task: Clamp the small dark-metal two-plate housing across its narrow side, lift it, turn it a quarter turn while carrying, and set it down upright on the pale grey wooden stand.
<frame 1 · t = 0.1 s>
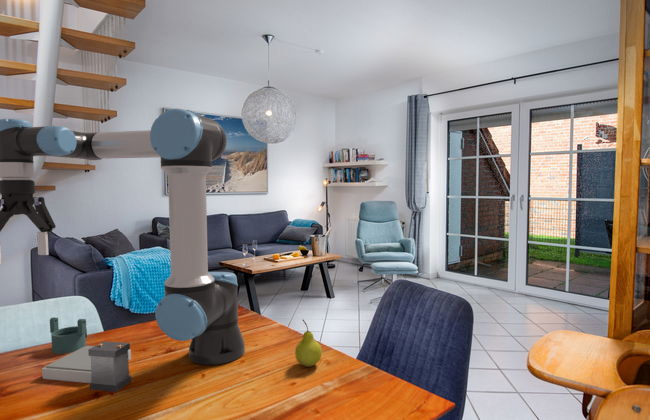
hand: (21, 259, 106), 28 cm above the table, fingers open, 13 cm apart
housing: (110, 385, 95), on the table
bracket: (70, 348, 117), on the table
stand: (89, 368, 104), on the table
fruit: (308, 366, 104), on the table
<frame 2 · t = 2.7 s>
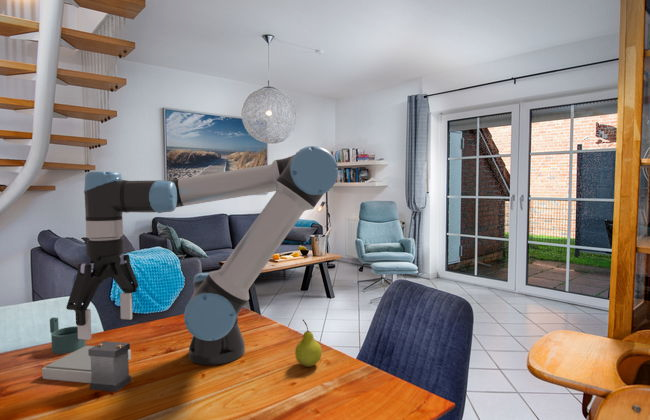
hand: (107, 328, 94), 14 cm above the table, fingers open, 13 cm apart
nothing on the table moved.
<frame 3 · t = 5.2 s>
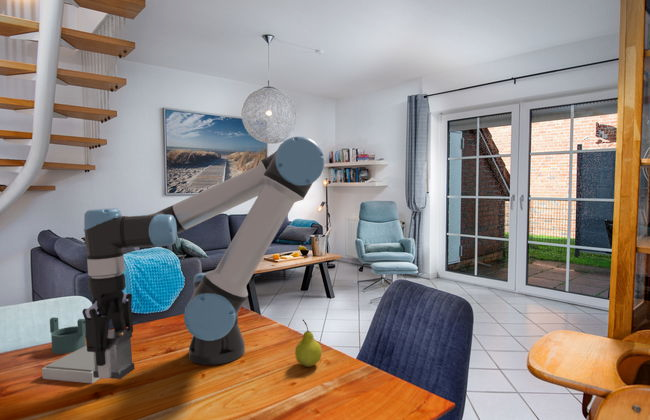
hand: (113, 371, 94), 3 cm above the table, fingers closed on housing, 5 cm apart
housing: (114, 373, 94), point 3 cm above the table, touching gripper
everything else where it was.
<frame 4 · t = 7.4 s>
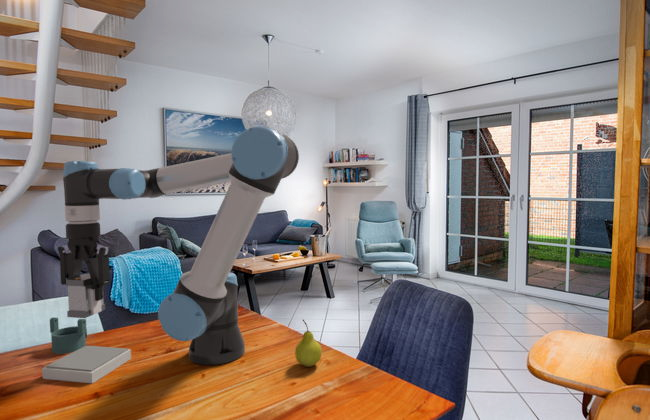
hand: (86, 311, 103), 15 cm above the table, fingers closed on housing, 5 cm apart
housing: (86, 313, 103), point 14 cm above the table, touching gripper
everything else where it was.
when the fingers open (4 cm above the table, at t = 9.4 s): housing stays where it is, resting on stand.
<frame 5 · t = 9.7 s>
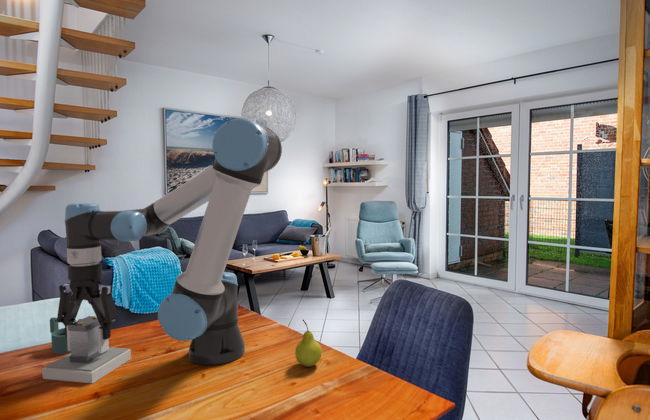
hand: (88, 349, 103), 5 cm above the table, fingers open, 8 cm apart
housing: (88, 356, 103), point 3 cm above the table, touching stand
everything else where it was.
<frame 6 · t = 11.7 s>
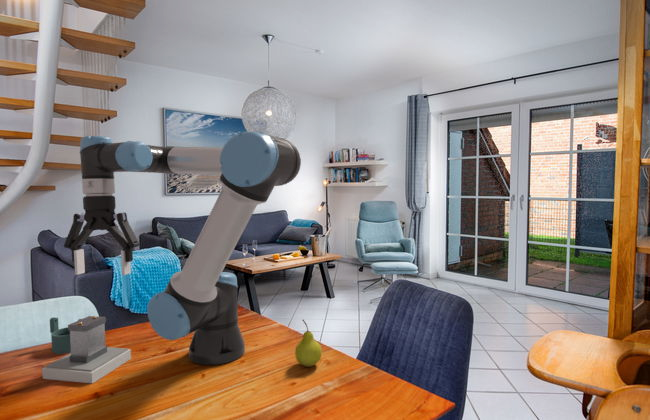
hand: (103, 274, 107), 24 cm above the table, fingers open, 13 cm apart
nothing on the table moved.
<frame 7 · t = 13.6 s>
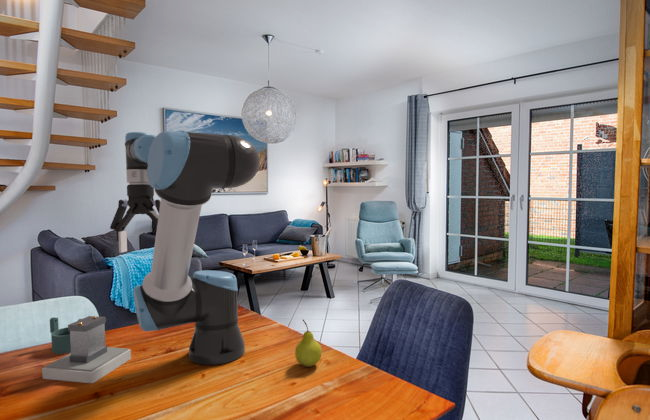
hand: (142, 252, 123), 27 cm above the table, fingers open, 13 cm apart
nothing on the table moved.
at the end: housing inside the target area on the stand (0.1 cm from its centre), point 3.0 cm above the stand's base; housing tilted 0°; the gripper is holding nothing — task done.
